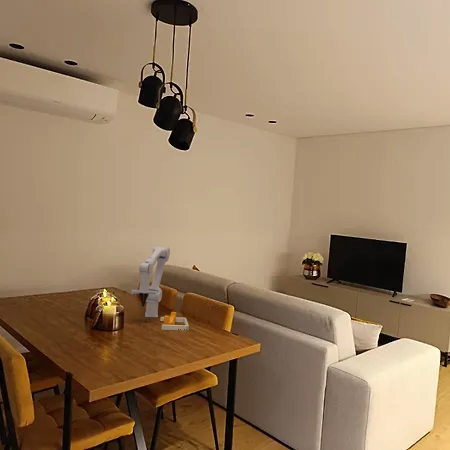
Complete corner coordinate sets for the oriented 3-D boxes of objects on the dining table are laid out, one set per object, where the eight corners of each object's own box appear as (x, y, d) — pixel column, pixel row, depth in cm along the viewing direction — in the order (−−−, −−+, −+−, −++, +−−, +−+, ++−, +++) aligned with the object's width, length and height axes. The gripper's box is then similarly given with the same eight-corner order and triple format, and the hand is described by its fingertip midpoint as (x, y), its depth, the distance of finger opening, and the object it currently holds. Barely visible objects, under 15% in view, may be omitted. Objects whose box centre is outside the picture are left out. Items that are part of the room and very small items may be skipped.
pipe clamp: (170, 328, 246) (171, 317, 245) (163, 327, 247) (164, 316, 246) (178, 323, 257) (179, 312, 257) (171, 322, 258) (172, 311, 258)
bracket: (160, 321, 258) (160, 316, 258) (185, 321, 261) (185, 317, 261) (161, 329, 241) (162, 325, 241) (188, 330, 244) (188, 326, 244)
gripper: (132, 283, 247) (130, 307, 248) (157, 285, 250) (155, 308, 250) (132, 281, 254) (130, 304, 254) (156, 282, 257) (155, 305, 257)
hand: (142, 306), depth 253 cm, fingers closed
